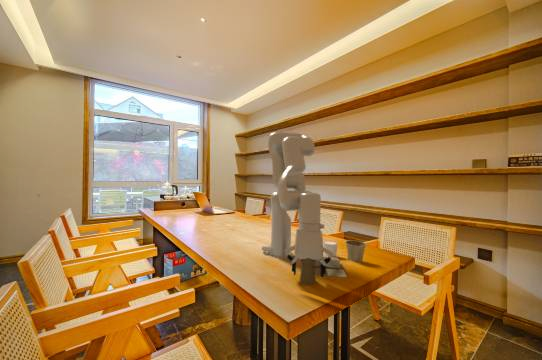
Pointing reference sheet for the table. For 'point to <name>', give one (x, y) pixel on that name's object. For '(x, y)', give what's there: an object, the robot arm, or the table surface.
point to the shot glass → (330, 247)
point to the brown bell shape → (307, 272)
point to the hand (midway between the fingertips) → (308, 274)
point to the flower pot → (355, 250)
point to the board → (332, 271)
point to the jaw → (329, 263)
